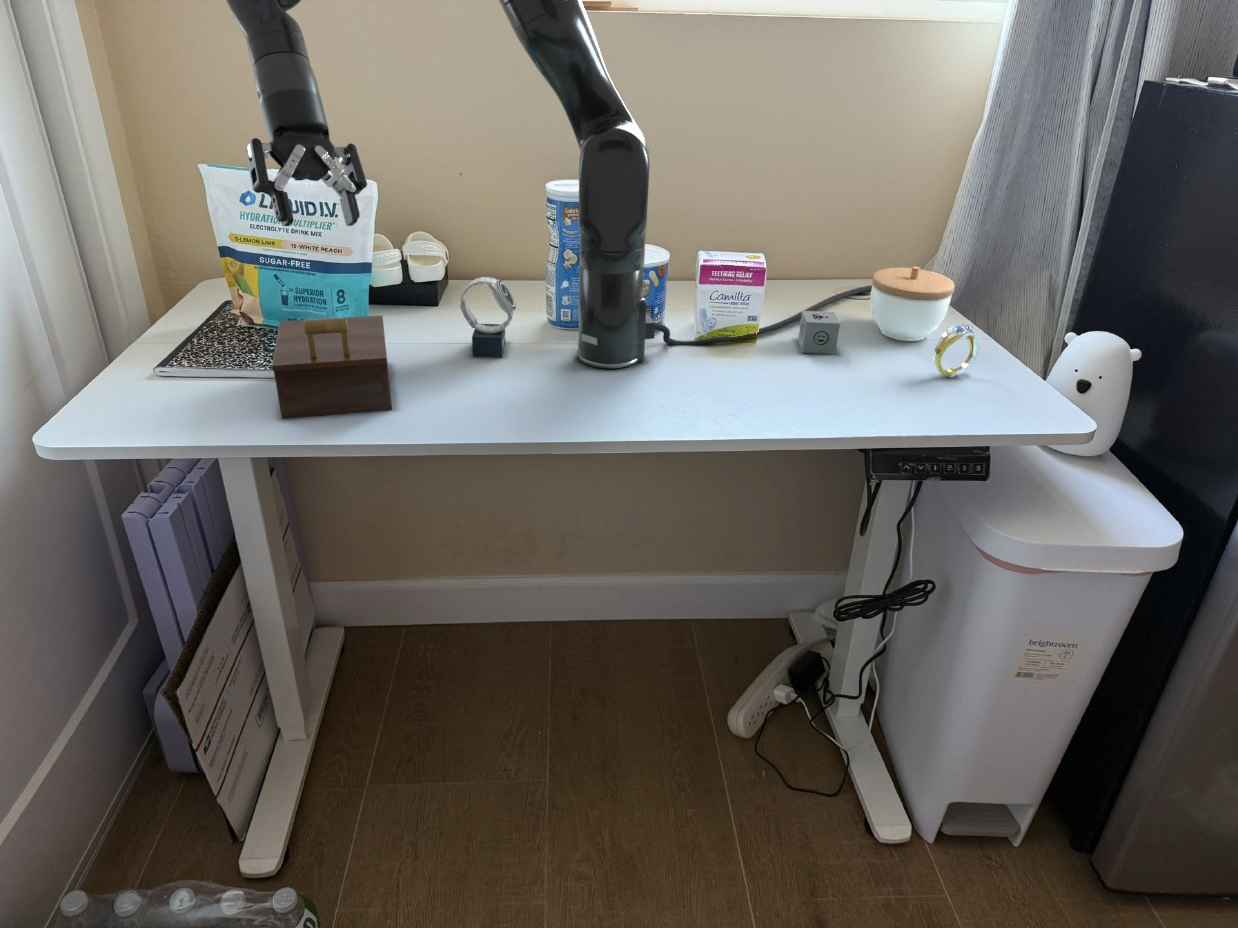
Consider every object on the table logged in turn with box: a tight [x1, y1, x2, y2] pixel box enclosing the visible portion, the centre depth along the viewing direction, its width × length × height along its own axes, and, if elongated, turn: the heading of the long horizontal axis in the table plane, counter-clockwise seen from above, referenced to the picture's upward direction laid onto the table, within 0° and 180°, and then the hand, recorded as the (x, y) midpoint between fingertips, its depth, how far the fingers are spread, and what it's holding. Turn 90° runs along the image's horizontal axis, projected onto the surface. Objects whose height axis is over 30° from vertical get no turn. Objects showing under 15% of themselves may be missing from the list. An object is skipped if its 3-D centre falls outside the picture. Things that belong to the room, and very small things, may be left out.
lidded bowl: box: [869, 266, 956, 342], centre depth 144 cm, size 13×13×11 cm
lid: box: [271, 314, 388, 373], centre depth 116 cm, size 15×14×6 cm
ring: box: [932, 322, 980, 378], centre depth 130 cm, size 7×3×8 cm, turn 104°
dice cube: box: [797, 310, 841, 355], centre depth 139 cm, size 5×5×5 cm
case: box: [273, 333, 393, 419], centre depth 120 cm, size 15×14×7 cm
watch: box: [459, 276, 517, 358], centre depth 132 cm, size 6×8×11 cm
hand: (321, 224), depth 114 cm, fingers open, 8 cm apart
